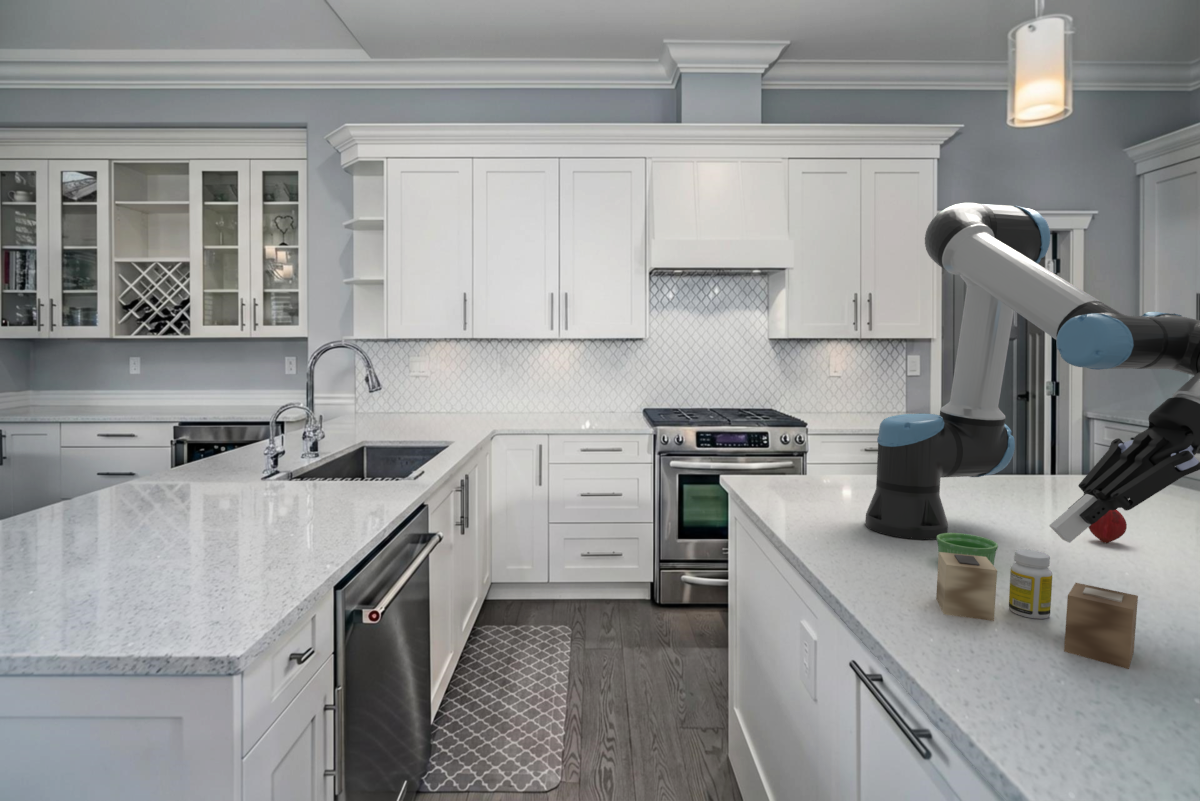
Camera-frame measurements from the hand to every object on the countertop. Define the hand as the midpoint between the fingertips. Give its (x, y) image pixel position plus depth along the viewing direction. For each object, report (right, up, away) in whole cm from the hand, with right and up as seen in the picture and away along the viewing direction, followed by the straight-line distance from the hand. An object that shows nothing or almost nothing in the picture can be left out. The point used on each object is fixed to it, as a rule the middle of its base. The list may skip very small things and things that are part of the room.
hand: (1059, 534), depth 86 cm
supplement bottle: (-3, -11, +1) cm, 12 cm away
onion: (+34, -9, +35) cm, 50 cm away
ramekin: (-1, -10, +21) cm, 23 cm away
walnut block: (-3, -12, -10) cm, 16 cm away
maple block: (-12, -11, +2) cm, 16 cm away
